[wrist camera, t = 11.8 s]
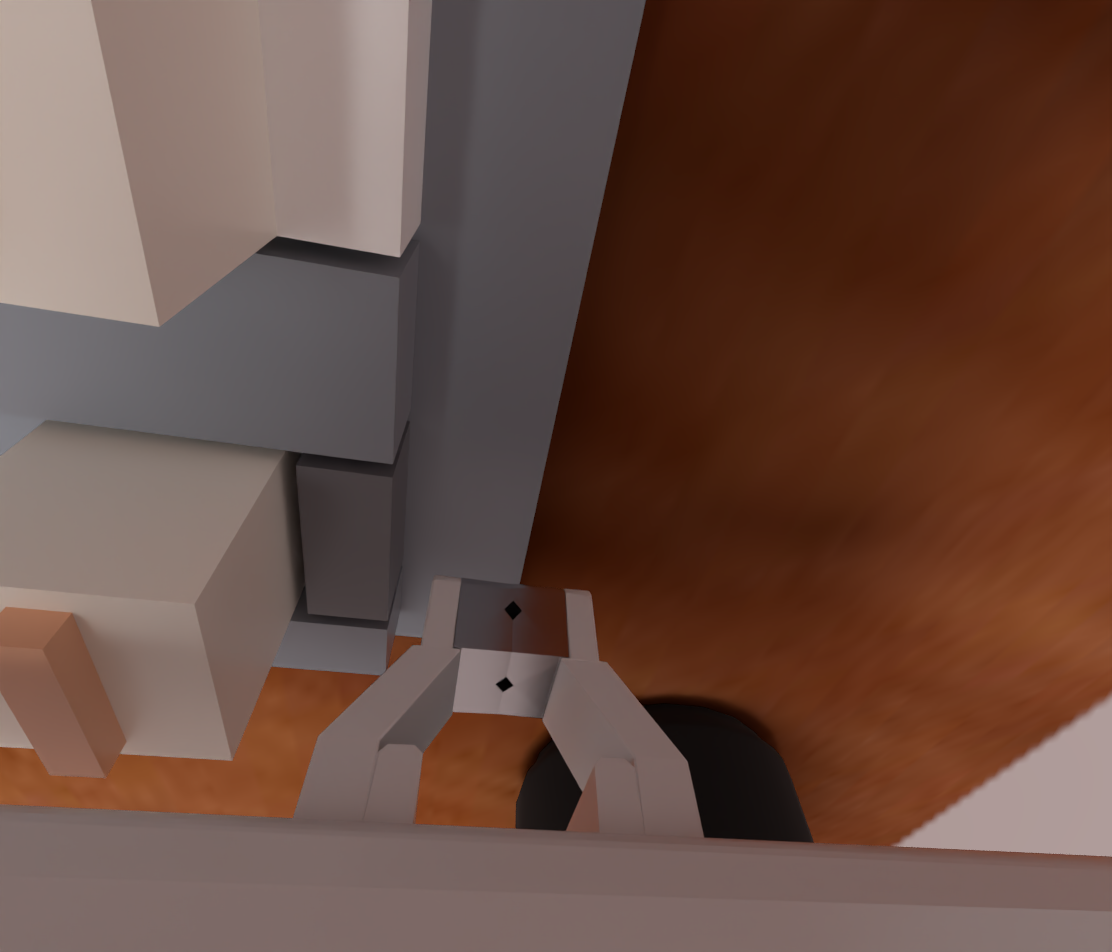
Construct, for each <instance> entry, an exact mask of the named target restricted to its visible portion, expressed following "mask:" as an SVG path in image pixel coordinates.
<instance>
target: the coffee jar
mask: <svg viewBox="0 0 1112 952" xmlns="http://www.w3.org/2000/svg"><path fill="white" fill-rule="evenodd" d="M643 707H644V708H645V710H646V711H647V712H648V713H649V715H650V716H651V717H652V718H653V720H654V721H655V722H656V723H657V724H658V726H659V727H660V728H661V729H662V731H663V732H664V733H665V734H666V735H667V737H668V738H669V739H670V740H671V742H672V743H673V744H674V745H675V747H676V748H677V749H678V750H679V751H680V753H681V754H682V755H683V756H684V758H685V759H686V760H687V761H688V766H689V770H690V775H691V779H692V784H693V789H694V793H695V798H696V802H697V807H698V811H699V816H700V821H701V825H702V830H703V834H704V838H723V839H744V840H766V841H787V842H808V843H814V842H813V839H812V836H811V833H810V830H809V828H808V825H807V822H806V819H805V816H804V813H803V811H802V808H801V805H800V802H799V799H798V796H797V794H796V791H795V788H794V785H793V782H792V779H791V777H790V775H789V772H788V770H787V768H786V766H785V763H784V761H783V759H782V757H781V756H780V755H779V754H778V753H777V751H776V750H775V749H774V748H773V747H771V746H770V745H769V744H767V743H766V742H765V741H763V740H762V739H761V738H759V737H758V735H757V734H756V733H755V732H754V731H752V730H751V729H750V728H748V727H747V726H746V725H744V724H743V723H742V722H740V721H739V720H737V719H736V718H735V717H732V716H729V715H726V714H723V713H720V712H717V711H714V710H711V709H708V708H705V707H696V706H686V705H675V704H657V705H646V706H643ZM582 793H583V792H582V790H581V788H580V787H579V785H578V783H577V781H576V780H575V778H574V776H573V774H572V772H571V771H570V769H569V767H568V765H567V764H566V762H565V760H564V758H563V756H562V755H561V753H560V751H559V749H558V748H557V746H556V744H555V742H554V740H552V741H551V742H550V743H549V744H548V745H547V746H546V747H545V748H544V749H543V750H542V751H541V752H540V753H539V756H538V758H537V761H536V763H535V764H534V765H533V766H532V767H531V768H530V769H529V770H528V772H527V775H526V777H525V780H524V782H523V785H522V788H521V791H520V794H519V797H518V800H517V802H516V829H534V830H556V831H566V829H567V827H568V825H569V822H570V820H571V818H572V816H573V813H574V811H575V809H576V806H577V804H578V802H579V799H580V797H581V795H582Z"/></svg>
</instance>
